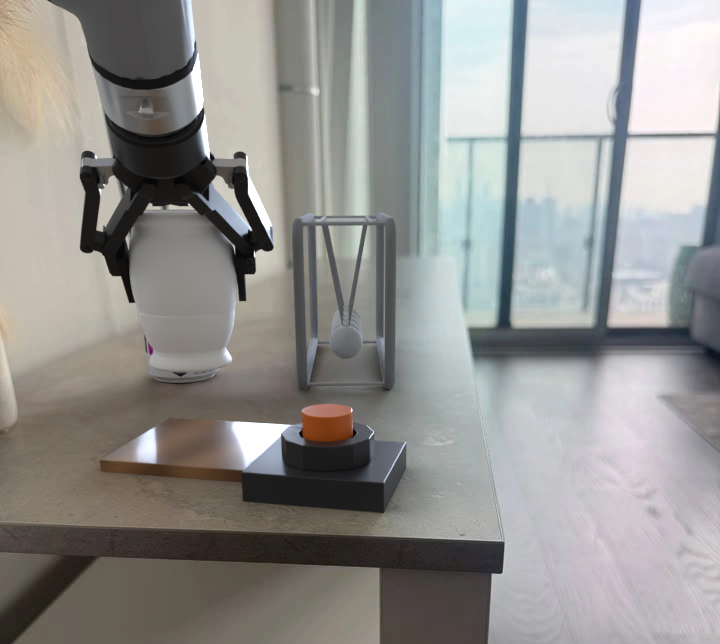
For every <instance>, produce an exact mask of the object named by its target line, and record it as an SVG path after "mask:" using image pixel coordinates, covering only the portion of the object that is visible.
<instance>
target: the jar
mask: <svg viewBox="0 0 720 644" xmlns="http://www.w3.org/2000/svg"><path fill="white" fill-rule="evenodd" d="M130 232H131V233H130V237H129V243H128V249H129V274H130V282H131V288H132V293H133V297H134V300H135V303H134V304H135V306H136V308H137V309H136V310H137V316H138V319H139V323H140V324H139V325H140V327H141V329H142V333H143V336H144V335H145V337H146V339H147V341H148V343H149V344H150V346H151V347H152V348H153V354H152V356H151V358H150V361H149V364H150V366H151V367H153V368H154V369H157V370H161V371H167V372H202V371H209V370H215V369H219V370H220V369H223V368H225V367H227V366H229V365H230V364H231V363H232V362H233V358H232V355H231V354H230V352H229V351H228V349H227V345H228V344H229V342H230V339H231V337H232V335H233V334H232V333H233V331H234V330H233V329H234V326H235V325H234V324H235V317H236V316H235V315H236V304H237V295H238V284H237V273H236V262H235V246H234V245H233V244H232V243H231V242H230V241H229V240H228V239H227V238H226V237H225V235H224V234H223V233H222V232H221V231H220V230H219V229H218V228H217V227H216V226H215V225H214V224H213V223H212V222H211V221H210V220H209V219H208V218H207V217H206V216H205V215H203V216H201V215H200V214H199V213H198V212H197V211H196V210H195V209H145V211H144V213H143V214H142V216H139V217H138V218H137V220H136V222H135V223H134V225H133V227H132V228H131V230H130Z"/></svg>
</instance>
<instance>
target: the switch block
mask: <svg viewBox="0 0 720 644" xmlns="http://www.w3.org/2000/svg"><path fill="white" fill-rule="evenodd" d="M291 425H292V426H289V427H287V428H286V429H285V430H284V431H283V432H282V433H281V436H280V437H279V438H278V439H277V440H276V441H275V442H274V443H273V444H272V445H270V446H269V447H268V448H267V449H266V450H265V451H264V452H263V453H262V454H261V455H260V456H259V457H257V458H256V459H255V460H254V461H253V462H252V463H251V464H250V465H249V466H248V467H247V468H246V469H244V470H243V471H242V472H241V480H242V482H241V491H242V492H241V493H242V502H245V503H256V504H257V503H258V504H268V505H281V506H293V507H305V508H315V509H317V508H318V509H329V510H339V511H341V510H343V511H351V512H352V511H354V512H365V513H377V514H378V513H379V514H384V513H385V511H386V509H387V507H388V505H389V503H390V501H391V499H392V498H393V495H394V493H395V491H396V489H397V488H398V485H399V484H400V481H401V479H402V477H403V475H404V473H405V471H406V469H407V442H406V441H393V440H378V439H375V432H374V430H373V429H372V428H370V426H369V425H367V424H364V423H360V422H356V421H353V437H352V438H349V439H346V440H342V441H332V442H322V441H311V440H308V439H304V438H303V433H302V422H299V423H296V424H291Z"/></svg>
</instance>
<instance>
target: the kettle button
mask: <svg viewBox="0 0 720 644" xmlns="http://www.w3.org/2000/svg"><path fill="white" fill-rule="evenodd" d="M353 412H354V411H353V409H352V407H350V406H347V405H345V404H344V405H343V404H339V403H338V404H337V403H320V404H319V403H318V404H313V405H309V406H306V407H304V408H302V410H301V423H302V433H303V438H304V439H308V440H311V441H322V442H332V441H342V440H346V439H349V438H352V437H353V422H354V416H353Z"/></svg>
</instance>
